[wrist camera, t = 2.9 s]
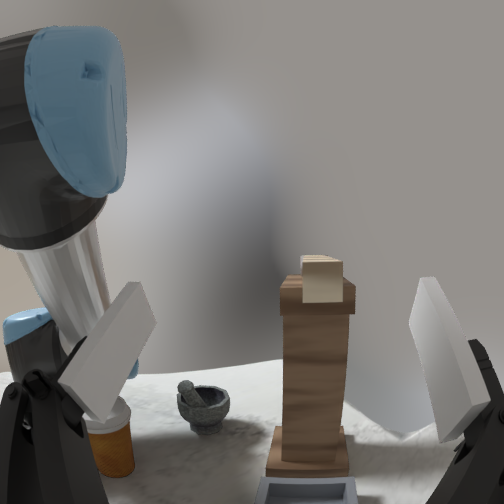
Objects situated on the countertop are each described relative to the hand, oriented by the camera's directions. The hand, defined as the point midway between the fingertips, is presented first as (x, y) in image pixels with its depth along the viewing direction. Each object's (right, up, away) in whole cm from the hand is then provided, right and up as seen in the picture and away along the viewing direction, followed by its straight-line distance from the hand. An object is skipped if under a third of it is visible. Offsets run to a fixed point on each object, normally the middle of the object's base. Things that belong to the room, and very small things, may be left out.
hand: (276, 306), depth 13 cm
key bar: (+6, -1, +20) cm, 21 cm away
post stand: (+8, -30, +25) cm, 40 cm away
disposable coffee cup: (-22, -31, +19) cm, 43 cm away
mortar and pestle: (-10, -31, +34) cm, 47 cm away
